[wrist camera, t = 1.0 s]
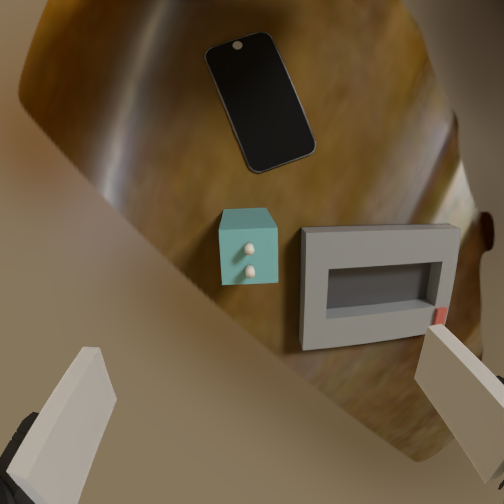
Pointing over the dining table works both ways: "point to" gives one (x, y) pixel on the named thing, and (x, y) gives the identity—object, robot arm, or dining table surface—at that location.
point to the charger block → (248, 246)
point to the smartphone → (260, 101)
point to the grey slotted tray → (374, 282)
